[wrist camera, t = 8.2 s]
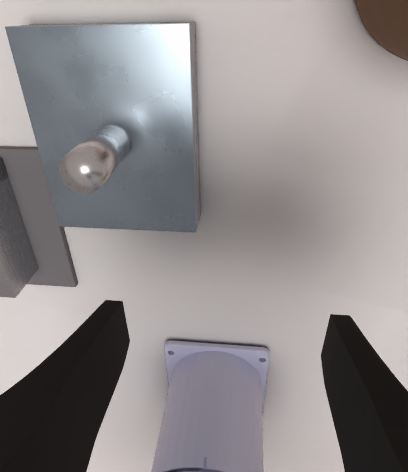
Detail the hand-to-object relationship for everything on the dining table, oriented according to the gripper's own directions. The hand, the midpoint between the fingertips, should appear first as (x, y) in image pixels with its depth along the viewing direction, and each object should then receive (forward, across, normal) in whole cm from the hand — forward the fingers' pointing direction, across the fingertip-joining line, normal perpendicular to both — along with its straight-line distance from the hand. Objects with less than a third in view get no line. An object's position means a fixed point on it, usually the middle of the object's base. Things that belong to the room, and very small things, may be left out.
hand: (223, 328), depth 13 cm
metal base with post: (+10, +6, -4) cm, 12 cm away
